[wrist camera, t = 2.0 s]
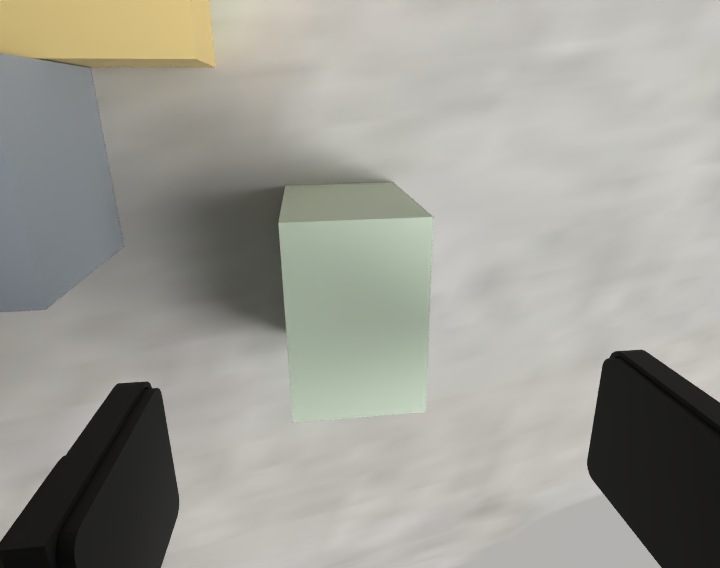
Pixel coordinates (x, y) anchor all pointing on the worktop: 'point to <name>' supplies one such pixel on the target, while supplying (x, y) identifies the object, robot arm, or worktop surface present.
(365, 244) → the sage block
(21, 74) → the slate block
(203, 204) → the worktop surface
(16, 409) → the worktop surface
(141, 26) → the ochre block
